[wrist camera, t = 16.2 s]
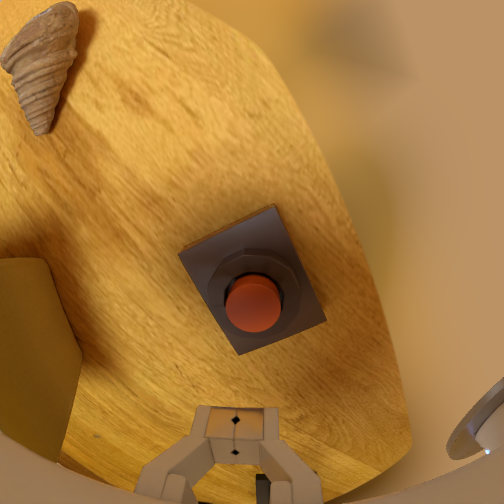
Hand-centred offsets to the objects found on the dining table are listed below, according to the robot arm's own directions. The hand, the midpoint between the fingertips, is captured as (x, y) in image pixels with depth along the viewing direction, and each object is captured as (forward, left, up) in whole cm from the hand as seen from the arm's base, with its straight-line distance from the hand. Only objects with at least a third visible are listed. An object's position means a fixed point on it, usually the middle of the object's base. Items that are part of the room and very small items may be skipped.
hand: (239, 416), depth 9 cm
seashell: (+19, -22, -15) cm, 32 cm away
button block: (0, 0, -15) cm, 15 cm away
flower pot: (+27, +5, -15) cm, 31 cm away
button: (0, 0, -11) cm, 11 cm away
